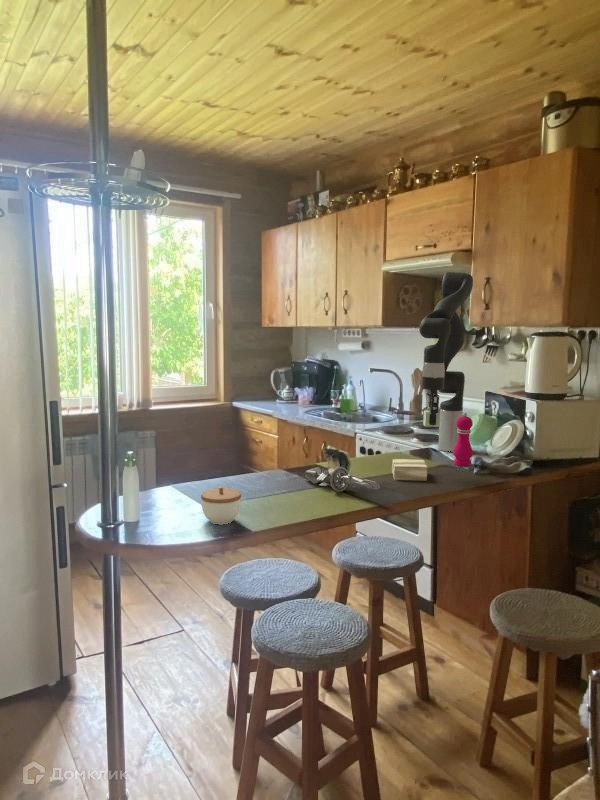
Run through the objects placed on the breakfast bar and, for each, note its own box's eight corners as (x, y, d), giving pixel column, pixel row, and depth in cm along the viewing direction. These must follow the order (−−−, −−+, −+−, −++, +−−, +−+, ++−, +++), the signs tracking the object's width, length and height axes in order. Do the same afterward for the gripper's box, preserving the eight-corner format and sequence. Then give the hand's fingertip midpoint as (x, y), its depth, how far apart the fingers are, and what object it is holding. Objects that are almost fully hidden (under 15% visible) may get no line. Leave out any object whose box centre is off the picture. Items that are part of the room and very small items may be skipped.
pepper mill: (474, 466, 225) (477, 413, 222) (455, 466, 225) (457, 413, 222) (469, 462, 232) (472, 411, 229) (450, 461, 232) (453, 410, 229)
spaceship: (367, 481, 174) (384, 467, 178) (293, 469, 201) (309, 457, 205) (376, 504, 176) (392, 490, 180) (301, 489, 203) (317, 477, 208)
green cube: (423, 424, 214) (423, 410, 214) (437, 424, 214) (438, 410, 213) (425, 426, 209) (425, 412, 209) (439, 426, 209) (440, 412, 208)
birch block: (392, 472, 217) (392, 458, 216) (422, 473, 216) (423, 459, 215) (394, 480, 206) (394, 466, 205) (426, 481, 205) (427, 467, 204)
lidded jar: (200, 528, 156) (199, 493, 155) (202, 515, 167) (202, 482, 165) (241, 527, 157) (241, 492, 156) (241, 514, 168) (241, 481, 167)
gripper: (419, 373, 217) (418, 420, 219) (425, 377, 203) (423, 426, 205) (440, 374, 216) (438, 420, 218) (447, 377, 202) (445, 427, 204)
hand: (431, 423), depth 212 cm, fingers closed on green cube, 5 cm apart
